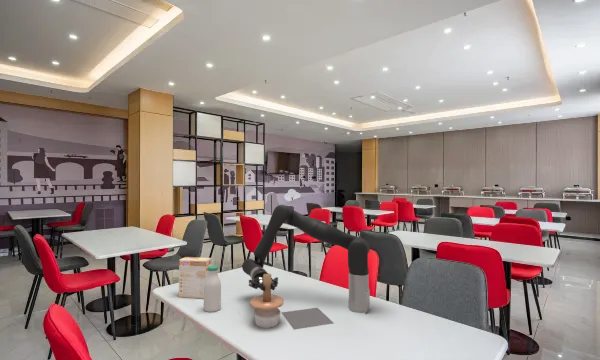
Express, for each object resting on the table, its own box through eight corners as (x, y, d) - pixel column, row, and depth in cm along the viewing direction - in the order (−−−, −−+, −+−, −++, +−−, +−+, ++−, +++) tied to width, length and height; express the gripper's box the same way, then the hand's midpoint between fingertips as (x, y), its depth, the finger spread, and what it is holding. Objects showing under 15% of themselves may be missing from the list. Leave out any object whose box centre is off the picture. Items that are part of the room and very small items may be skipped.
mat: (317, 308, 153) (317, 307, 153) (334, 324, 136) (334, 323, 136) (281, 313, 147) (281, 312, 147) (293, 330, 130) (293, 329, 130)
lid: (289, 300, 140) (289, 272, 140) (273, 312, 127) (273, 281, 127) (261, 295, 145) (261, 268, 145) (243, 305, 133) (244, 276, 133)
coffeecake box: (211, 294, 170) (211, 257, 171) (205, 299, 163) (205, 260, 164) (185, 292, 173) (185, 256, 173) (178, 297, 166) (178, 259, 166)
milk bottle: (224, 309, 151) (224, 266, 151) (209, 313, 145) (210, 269, 146) (215, 304, 156) (215, 263, 156) (200, 309, 151) (201, 266, 151)
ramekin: (279, 330, 130) (279, 317, 130) (251, 329, 130) (251, 316, 130) (281, 318, 141) (281, 306, 141) (256, 318, 142) (256, 306, 142)
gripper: (244, 269, 147) (252, 280, 131) (274, 267, 152) (285, 277, 136) (244, 286, 147) (252, 299, 131) (274, 283, 152) (285, 295, 136)
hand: (268, 288), depth 133 cm, fingers closed on lid, 3 cm apart
